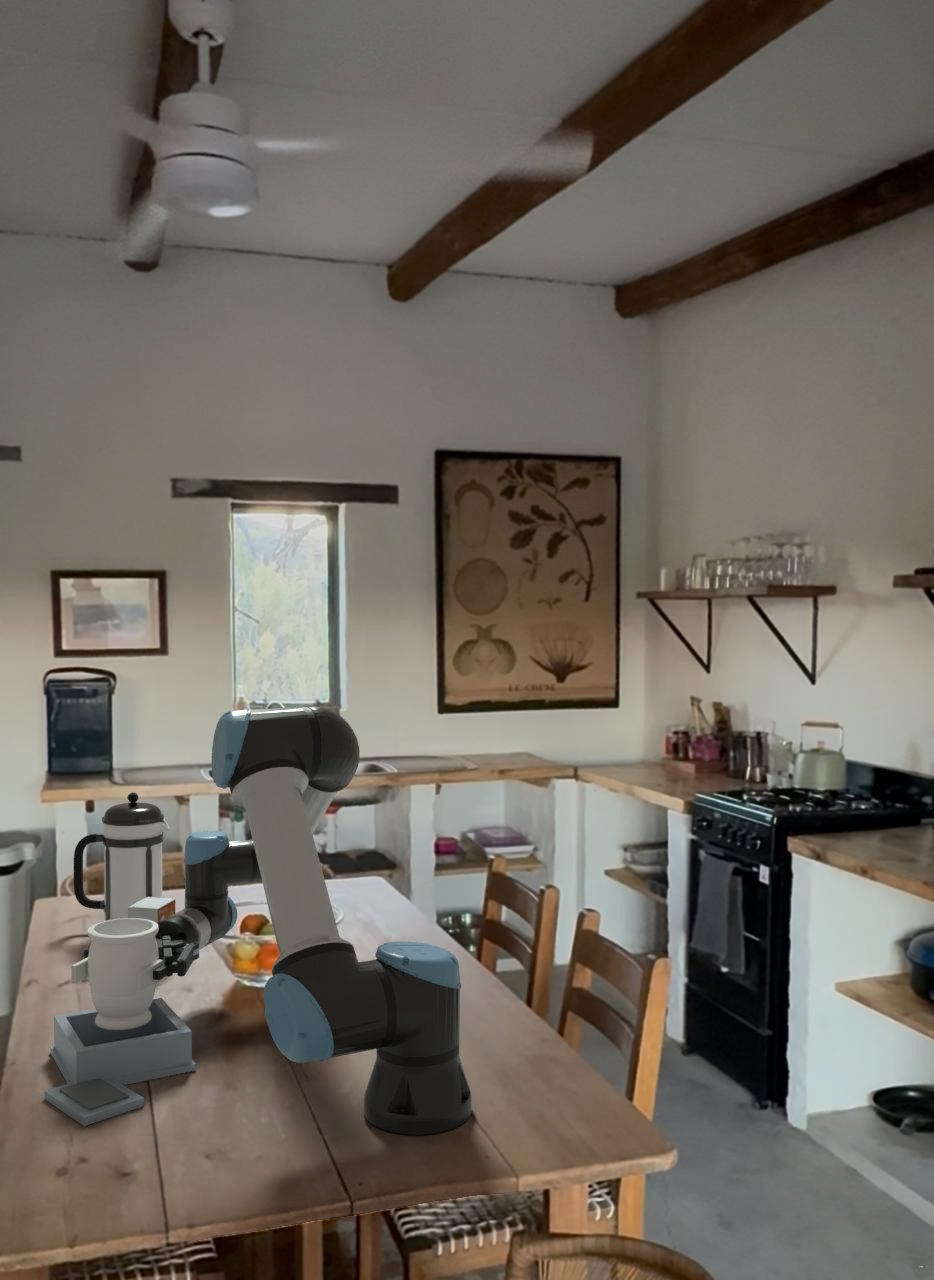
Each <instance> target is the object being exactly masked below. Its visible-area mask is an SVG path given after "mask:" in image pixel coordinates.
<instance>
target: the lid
mask: <svg viewBox="0 0 934 1280" xmlns="http://www.w3.org/2000/svg"><path fill="white" fill-rule="evenodd" d="M44 1100H45V1101H47V1102H48V1103H50V1104H51V1105H53V1106H54V1107H56V1108H57V1109H58V1110H60V1111H62V1112H63V1113H64V1114H66V1115H68V1117H70V1118H72V1119H73V1120H75V1121H76V1122H77V1123H79V1124H80V1125H82V1126H83V1127H86V1126H88V1125H91V1124H95V1123H97V1122H101V1121H104V1120H107V1119H109V1118H113V1117H116V1116H119V1115H122V1114H125V1113H128V1112H130V1111H134V1110H136V1109H140V1108H142V1107H145V1098H144V1096H141V1094H138V1093H137V1092H135V1091H133V1090H132V1089H130V1088H128V1087H127V1086H126V1085H122V1084H120V1083H118V1082H117V1081H115V1080H113V1079H112V1078H110V1079H105V1080H103V1079H101V1078H99V1079H94V1080H89V1081H84V1082H80V1083H77V1084H76V1083H75V1082H72V1083H69V1084H67V1083H66V1084H62V1085H60V1086H57V1087H53V1088H50V1089H46V1090H44Z"/></svg>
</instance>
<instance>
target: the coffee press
mask: <svg viewBox="0 0 934 1280" xmlns="http://www.w3.org/2000/svg"><path fill="white" fill-rule="evenodd" d="M127 801H128V802H124V803H119V804H115V805H113V806H110V807H109V808H108V809H106V811H105V813H104V816H102V817H101V822H102V824H103V834H98V833H90V834H87V835H86V836H84V837H82V838H80V839H79V841H78V843H77V844H76V846H75V850H74V853H73V854H74V855H73V890H74V896H75V898H76V900H77V901H78V903H79V904H80V905H81V906H82V907H84V908H88V909H93V910H103V912H104V921H106V920H112V919H120V918H128V907H130V906H132V905H133V904H135V903H136V902H138V901H141V900H143V899H144V898H146V897H156V898H163V842H164V832H163V831H166V830H167V831H169V830H170V829H171V827H170V825H169V824H168V822H167V821H166V819H165V818H164V817H165V815H164V814H163V813H162V811H161V809H160V807H159V806H157V805H156V804H152V803H149V802H148V803H147V802H137V801H139V794H138V793H136V792H131V793H129V794H128V796H127ZM93 843H102V844H103V882H104V883H103V885H104V886H103V887H104V888H103V891H104V893H103V894H104V895H103V897H104V898H103V900H95V899H94V900H93V899H90V898H88V897H87V896H86V894H85V891H84V851H85V849H86V847H87V845H89V844H93Z"/></svg>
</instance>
